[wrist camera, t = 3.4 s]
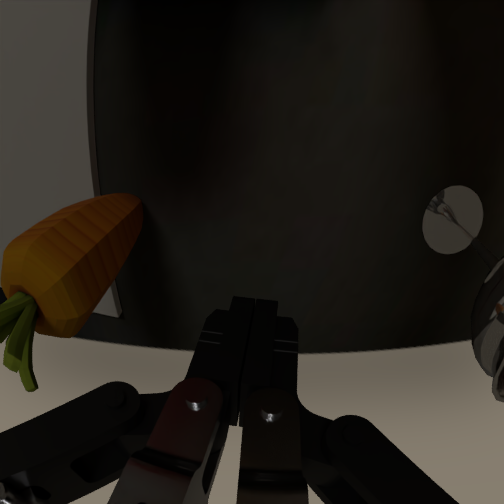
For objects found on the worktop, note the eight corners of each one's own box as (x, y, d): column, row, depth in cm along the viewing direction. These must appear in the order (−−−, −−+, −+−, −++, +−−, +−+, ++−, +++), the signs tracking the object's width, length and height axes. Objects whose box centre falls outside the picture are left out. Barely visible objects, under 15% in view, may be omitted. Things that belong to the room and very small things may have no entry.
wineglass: (418, 165, 16) (543, 275, 6) (501, 178, 16) (623, 273, 5) (401, 264, 20) (463, 415, 9) (479, 266, 19) (558, 388, 8)
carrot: (178, 175, 19) (-1, 354, 6) (166, 243, 21) (43, 433, 8) (110, 158, 19) (-83, 285, 6) (105, 224, 21) (-40, 374, 8)
